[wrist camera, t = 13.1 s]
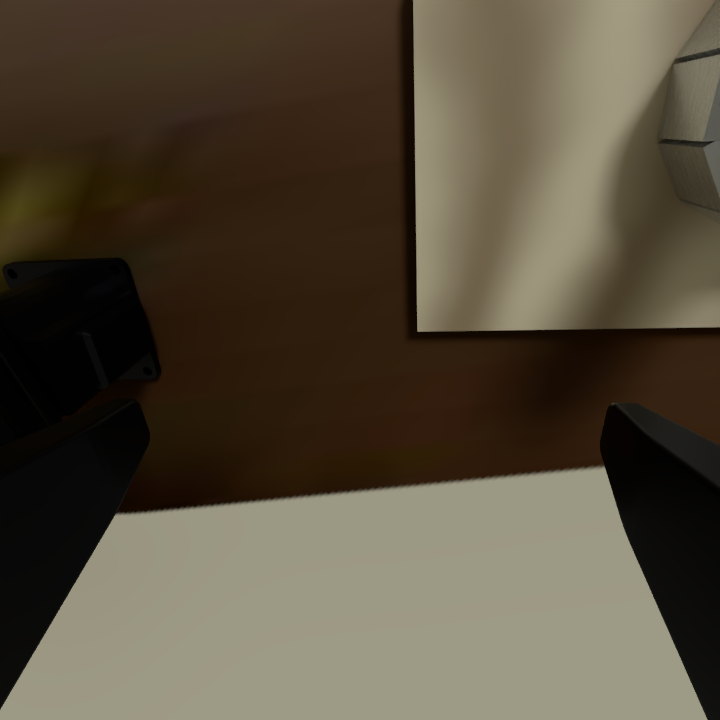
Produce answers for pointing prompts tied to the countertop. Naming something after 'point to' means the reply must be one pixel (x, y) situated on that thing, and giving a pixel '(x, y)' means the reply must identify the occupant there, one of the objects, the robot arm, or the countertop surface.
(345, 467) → the countertop surface
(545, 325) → the birch board
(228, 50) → the countertop surface
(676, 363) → the countertop surface
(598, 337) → the countertop surface
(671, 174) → the steel collar
